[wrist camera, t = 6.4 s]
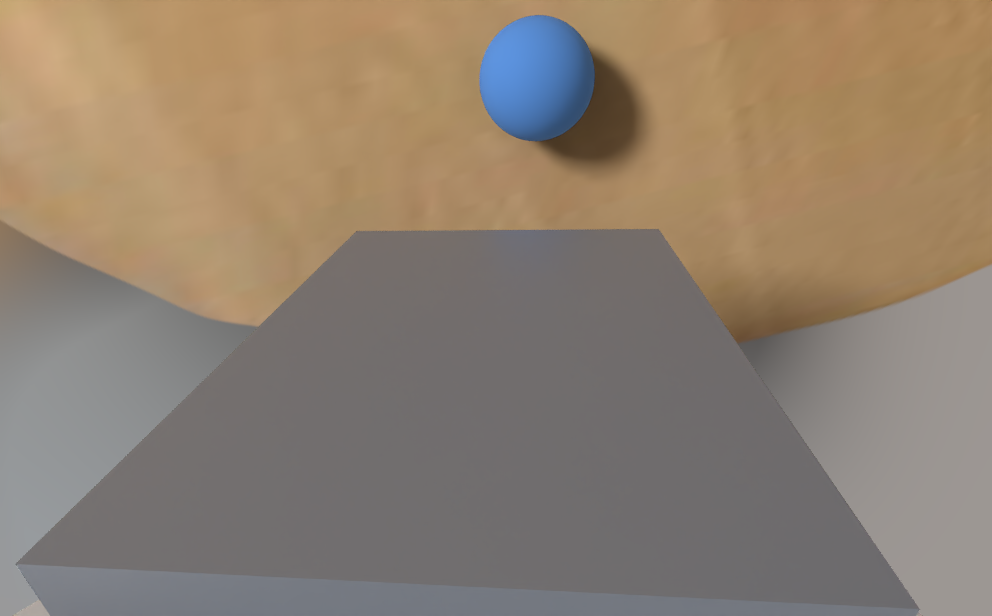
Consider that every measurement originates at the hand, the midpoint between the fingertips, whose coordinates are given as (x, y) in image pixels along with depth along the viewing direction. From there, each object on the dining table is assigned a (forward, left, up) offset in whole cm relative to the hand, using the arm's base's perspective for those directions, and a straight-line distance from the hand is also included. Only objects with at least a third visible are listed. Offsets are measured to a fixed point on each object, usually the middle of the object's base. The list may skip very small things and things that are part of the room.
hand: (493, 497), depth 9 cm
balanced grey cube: (0, 0, -5) cm, 5 cm away
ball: (0, -6, -18) cm, 19 cm away
